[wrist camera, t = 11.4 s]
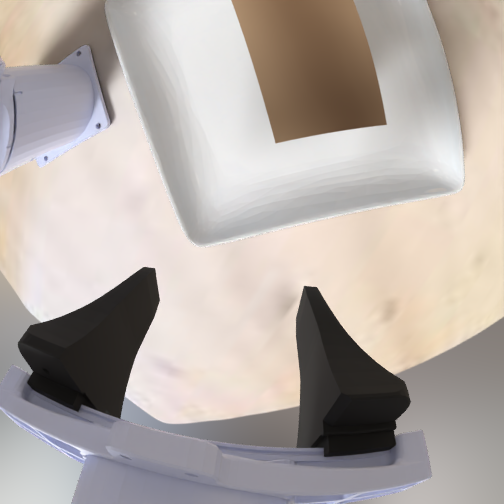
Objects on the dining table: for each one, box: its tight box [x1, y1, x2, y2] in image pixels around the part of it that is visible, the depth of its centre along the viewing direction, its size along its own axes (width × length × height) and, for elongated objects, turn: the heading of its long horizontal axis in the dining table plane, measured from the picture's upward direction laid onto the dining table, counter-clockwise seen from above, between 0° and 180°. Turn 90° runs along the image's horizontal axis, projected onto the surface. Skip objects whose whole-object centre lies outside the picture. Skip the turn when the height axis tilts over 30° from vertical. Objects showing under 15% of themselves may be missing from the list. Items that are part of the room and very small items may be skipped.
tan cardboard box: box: [231, 0, 387, 143], centre depth 10 cm, size 4×8×6 cm, turn 15°
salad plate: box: [104, 0, 465, 247], centre depth 14 cm, size 21×21×3 cm
